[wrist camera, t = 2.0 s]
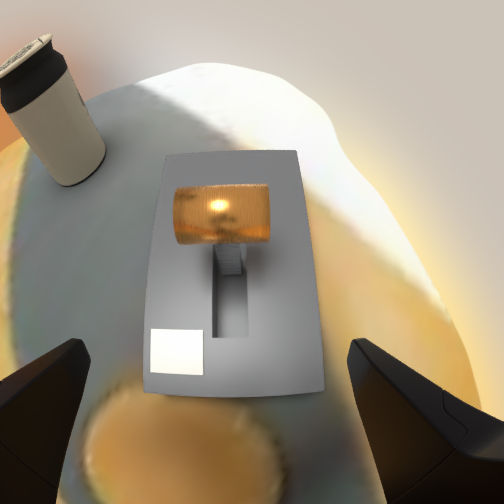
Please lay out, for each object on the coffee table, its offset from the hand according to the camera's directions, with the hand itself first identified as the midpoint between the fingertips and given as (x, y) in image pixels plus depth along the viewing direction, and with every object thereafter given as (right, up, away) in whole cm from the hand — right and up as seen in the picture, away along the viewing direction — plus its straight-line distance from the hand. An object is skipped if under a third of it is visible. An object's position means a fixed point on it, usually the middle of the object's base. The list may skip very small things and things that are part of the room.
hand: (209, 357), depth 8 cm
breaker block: (0, +2, +15) cm, 15 cm away
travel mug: (-21, +15, +21) cm, 33 cm away
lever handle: (0, +2, +14) cm, 14 cm away
